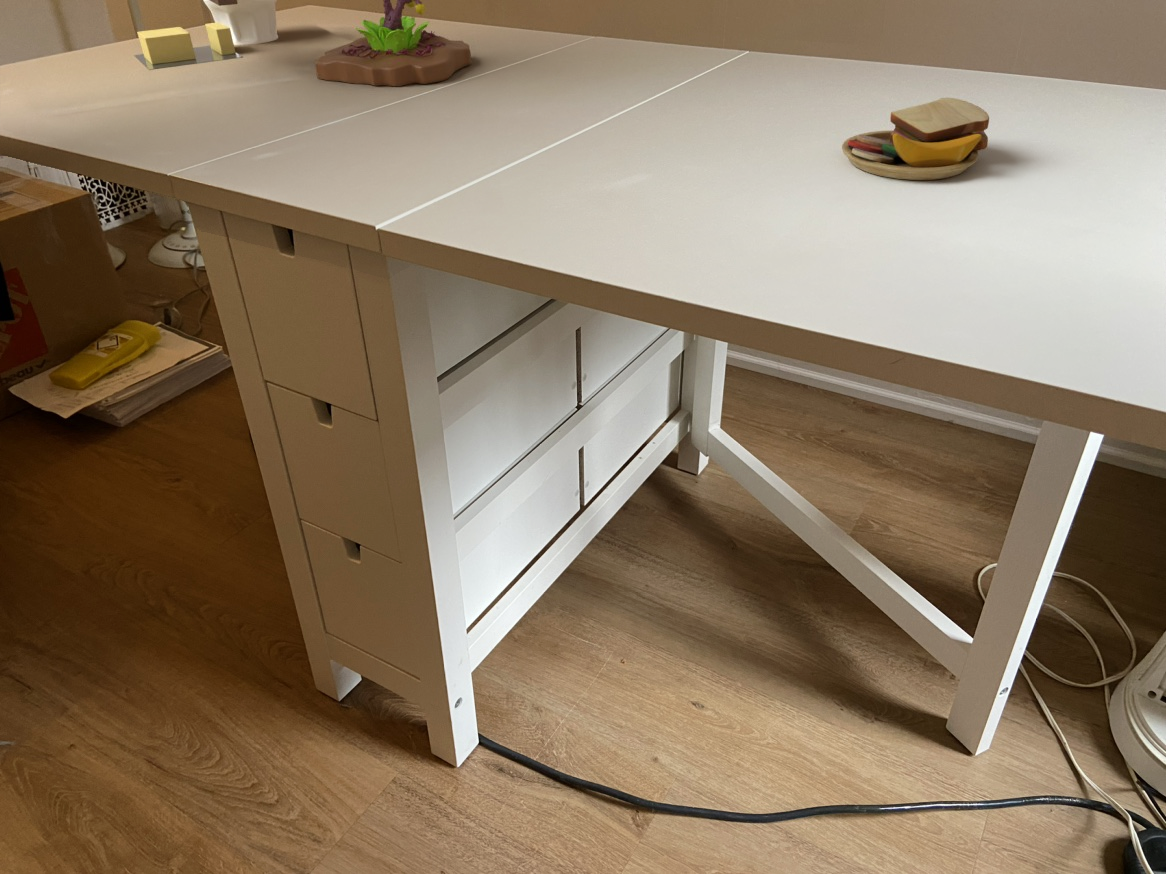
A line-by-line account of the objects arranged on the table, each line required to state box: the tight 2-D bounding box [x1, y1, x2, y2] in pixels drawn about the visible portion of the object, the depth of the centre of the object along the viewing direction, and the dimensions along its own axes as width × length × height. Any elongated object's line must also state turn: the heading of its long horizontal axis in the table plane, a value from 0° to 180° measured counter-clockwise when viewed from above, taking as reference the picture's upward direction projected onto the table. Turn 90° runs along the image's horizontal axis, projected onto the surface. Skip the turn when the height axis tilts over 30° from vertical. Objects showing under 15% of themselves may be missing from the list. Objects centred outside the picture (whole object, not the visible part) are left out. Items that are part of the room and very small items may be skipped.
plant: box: [315, 0, 472, 87], centre depth 119 cm, size 20×20×11 cm
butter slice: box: [205, 22, 237, 55], centre depth 130 cm, size 2×6×4 cm, turn 34°
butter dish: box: [133, 45, 243, 71], centre depth 129 cm, size 13×12×1 cm
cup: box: [202, 0, 279, 46], centre depth 135 cm, size 12×12×11 cm
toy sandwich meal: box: [841, 97, 990, 181], centre depth 83 cm, size 12×14×5 cm
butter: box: [137, 26, 196, 65], centre depth 126 cm, size 6×6×4 cm
